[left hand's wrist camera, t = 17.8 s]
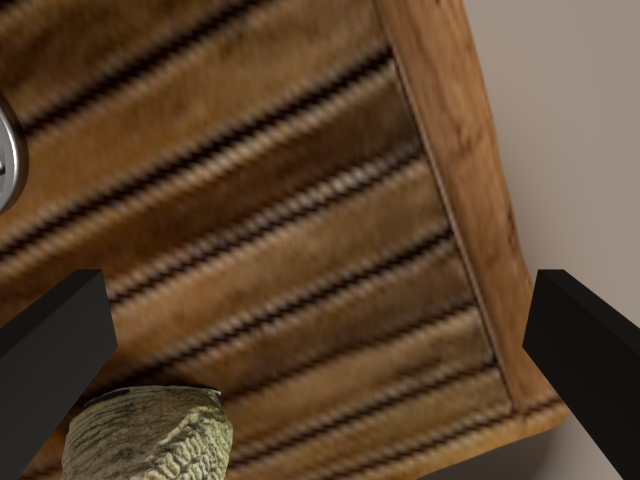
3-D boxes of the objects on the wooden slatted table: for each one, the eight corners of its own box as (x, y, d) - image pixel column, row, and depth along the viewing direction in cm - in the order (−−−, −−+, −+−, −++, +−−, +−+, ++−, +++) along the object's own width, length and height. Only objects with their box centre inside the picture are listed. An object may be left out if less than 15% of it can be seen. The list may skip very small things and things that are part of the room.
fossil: (252, 417, 47) (223, 559, 33) (108, 457, 49) (24, 606, 35) (220, 355, 44) (173, 483, 30) (68, 401, 46) (-41, 540, 32)
